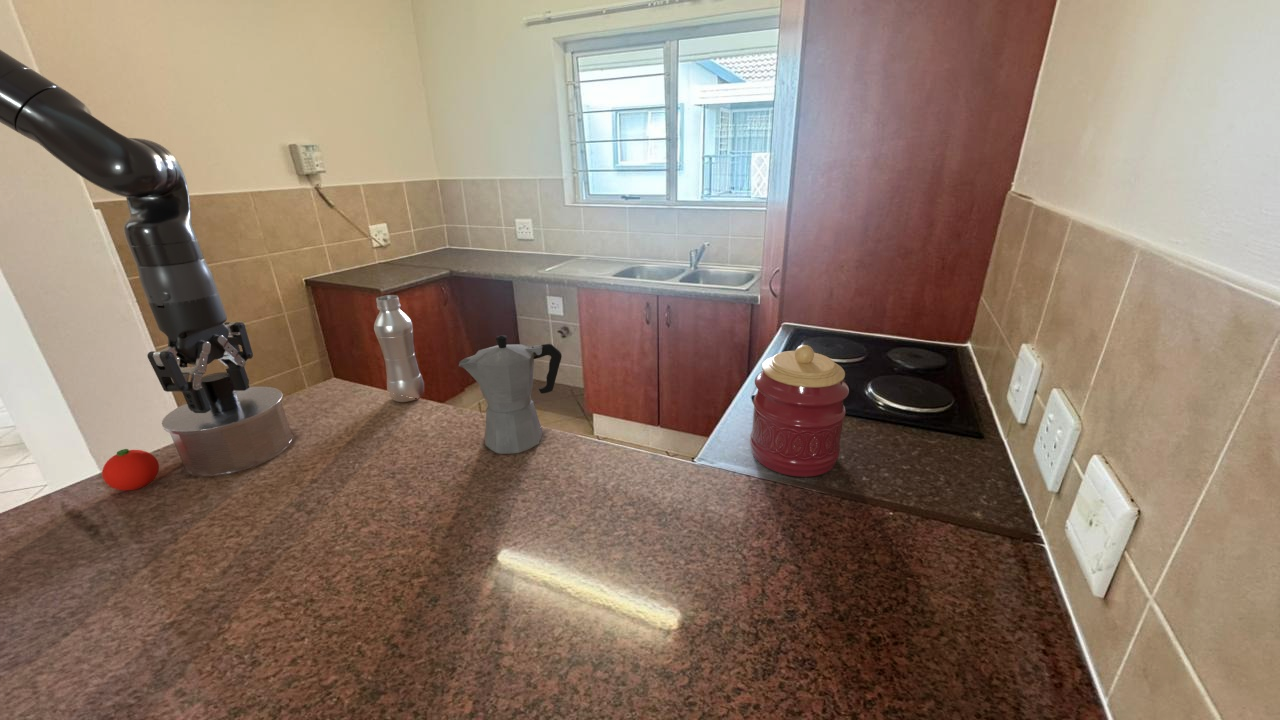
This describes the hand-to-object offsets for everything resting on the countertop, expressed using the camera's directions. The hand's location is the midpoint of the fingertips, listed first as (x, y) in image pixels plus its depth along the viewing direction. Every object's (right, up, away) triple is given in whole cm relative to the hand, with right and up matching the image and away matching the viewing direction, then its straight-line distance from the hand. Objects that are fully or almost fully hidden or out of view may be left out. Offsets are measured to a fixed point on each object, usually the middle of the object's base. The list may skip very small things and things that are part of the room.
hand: (222, 400), depth 76 cm
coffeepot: (+44, -7, +6) cm, 45 cm away
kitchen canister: (+87, -8, +1) cm, 87 cm away
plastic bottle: (+19, -2, +20) cm, 28 cm away
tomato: (-8, -9, -6) cm, 14 cm away
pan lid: (0, -2, +1) cm, 2 cm away
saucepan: (0, -9, +3) cm, 9 cm away
